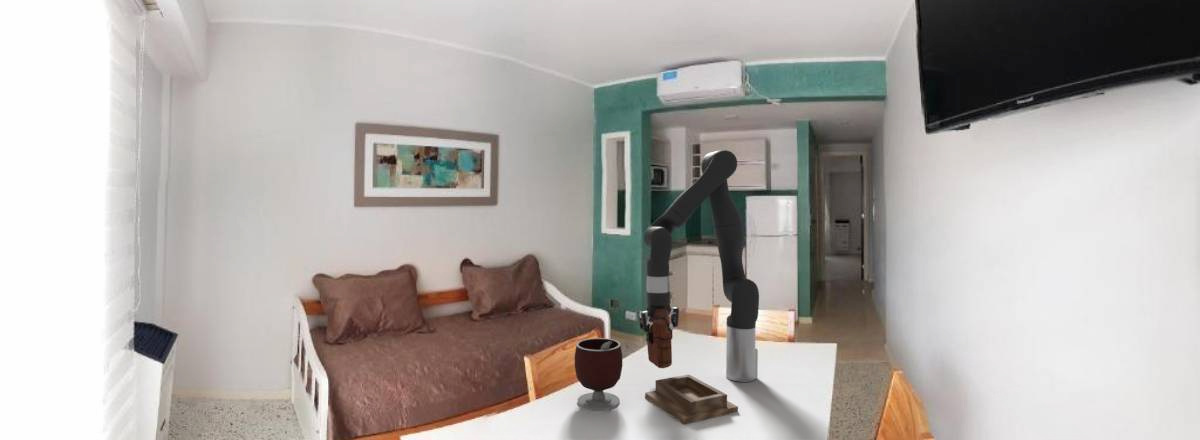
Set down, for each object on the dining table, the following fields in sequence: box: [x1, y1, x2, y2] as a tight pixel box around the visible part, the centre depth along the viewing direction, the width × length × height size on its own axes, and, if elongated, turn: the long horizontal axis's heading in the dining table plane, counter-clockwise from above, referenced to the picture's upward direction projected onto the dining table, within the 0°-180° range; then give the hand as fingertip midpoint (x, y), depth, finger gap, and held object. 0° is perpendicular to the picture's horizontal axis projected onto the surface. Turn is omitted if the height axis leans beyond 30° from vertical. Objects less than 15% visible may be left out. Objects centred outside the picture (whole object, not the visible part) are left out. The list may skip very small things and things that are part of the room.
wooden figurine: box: [646, 307, 673, 369], centre depth 159 cm, size 12×6×18 cm, turn 17°
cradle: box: [644, 373, 739, 425], centre depth 144 cm, size 18×20×5 cm
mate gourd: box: [574, 337, 623, 412], centre depth 145 cm, size 16×14×20 cm
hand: (659, 342), depth 159 cm, fingers closed on wooden figurine, 6 cm apart
